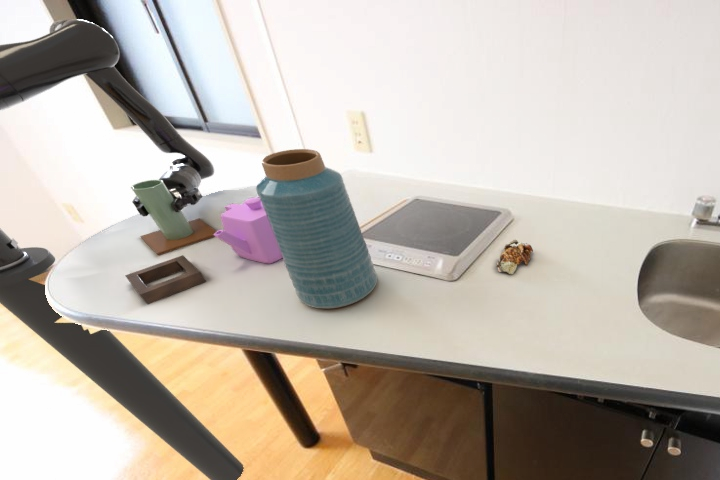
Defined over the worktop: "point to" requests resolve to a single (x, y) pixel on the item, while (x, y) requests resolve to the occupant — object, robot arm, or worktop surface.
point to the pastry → (513, 256)
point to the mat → (165, 245)
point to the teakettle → (249, 232)
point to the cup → (162, 209)
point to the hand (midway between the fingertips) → (158, 210)
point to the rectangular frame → (168, 286)
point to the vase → (316, 229)
